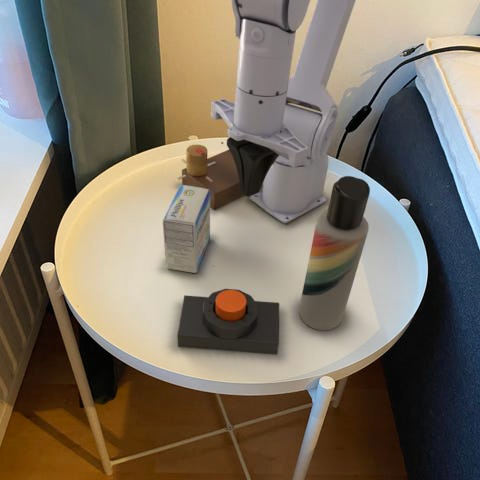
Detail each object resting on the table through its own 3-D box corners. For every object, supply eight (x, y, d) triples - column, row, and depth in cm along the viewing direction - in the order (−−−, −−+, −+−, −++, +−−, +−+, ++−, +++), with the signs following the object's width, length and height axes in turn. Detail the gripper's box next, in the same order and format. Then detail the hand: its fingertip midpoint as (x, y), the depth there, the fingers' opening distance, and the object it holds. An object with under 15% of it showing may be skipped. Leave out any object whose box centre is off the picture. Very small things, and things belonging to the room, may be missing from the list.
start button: (214, 320, 65) (214, 310, 63) (216, 298, 67) (217, 288, 66) (244, 323, 65) (245, 313, 63) (246, 300, 67) (247, 290, 66)
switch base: (177, 346, 66) (176, 325, 63) (184, 306, 71) (183, 284, 68) (276, 354, 66) (280, 333, 63) (277, 314, 71) (280, 292, 68)
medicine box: (196, 275, 75) (196, 224, 68) (165, 269, 75) (161, 218, 68) (210, 238, 80) (211, 188, 73) (180, 233, 80) (179, 182, 74)
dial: (182, 169, 86) (181, 147, 83) (198, 162, 87) (198, 140, 84) (195, 178, 84) (195, 156, 81) (211, 171, 86) (211, 149, 83)
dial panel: (221, 159, 94) (222, 142, 91) (261, 187, 89) (263, 170, 87) (164, 184, 88) (163, 167, 86) (204, 215, 83) (204, 198, 81)
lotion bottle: (320, 292, 74) (351, 162, 59) (351, 318, 71) (392, 188, 56) (289, 311, 71) (313, 179, 56) (319, 338, 68) (353, 208, 53)
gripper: (192, 69, 62) (190, 176, 72) (282, 120, 55) (266, 231, 65) (239, 57, 65) (231, 160, 75) (329, 104, 58) (307, 211, 68)
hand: (250, 192), depth 70 cm, fingers closed
